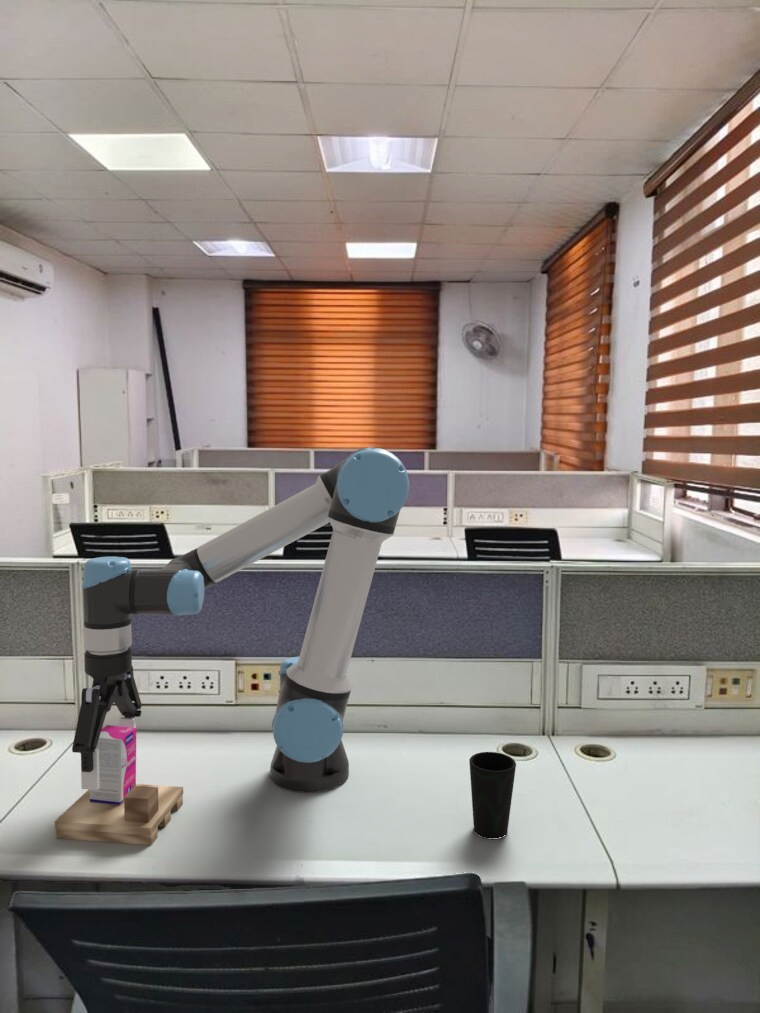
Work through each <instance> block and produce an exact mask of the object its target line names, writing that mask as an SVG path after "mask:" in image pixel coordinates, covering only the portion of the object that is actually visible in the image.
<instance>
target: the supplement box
mask: <svg viewBox="0 0 760 1013" xmlns="http://www.w3.org/2000/svg"><path fill="white" fill-rule="evenodd" d="M96 749H99V777H100V788H99V789H98V790H90V802H92V803H104V804H114V805H120V804H121V803H122V802H123V801H124V797H125V796H126V795H127V794H128V793H129V792H130V791H131V790H132V788H133V787H134V786H136V784H137V727H136V728H132V727H120V726H119V725H118V726H117V725H109V724H106V725H105V726H103V727H102V730H101V733H100V736H99V740H98V743H97V746H96Z"/></svg>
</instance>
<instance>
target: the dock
mask: <svg viewBox="0 0 760 1013" xmlns="http://www.w3.org/2000/svg"><path fill="white" fill-rule="evenodd" d="M136 786H146V787H158V812H157V813H156V814H155V815H154V817H153V818H152V819H151V820H150V822H149V823H144V822H130V821H125V817H124V801H123V802H122V803H121V804H120V805H114V804H104V803H92V802H90V789H86V791H85V792H84V793H83V794H82V795H80V797H78V799H76V801H74V802H73V803H72V804H71V805H70V807H68V808H67V809H66V810H65V811H64V812H63V813H62V814H61V815H60V816H59V817H57V818H56V820H55V821H54V829H55V836H56V839H63V840H64V839H67V840H77V841H91V842H105V843H117V844H118V843H119V844H131V845H132V844H133V845H144V846H152V845H153V844H154V843H155V841H156V840H157V839H158V836H159V834H158V828H166V827H167V825H169V823H170V822H171V820H172V814H171V813H172V812H171V811H174V812H177V811H179V809H180V808H181V807H182V806H183V804H184V803H183V801H184V800H183V799H184V796H183V795H184V786H173V785H172V786H171V785H158V784H157V785H156V784H145V783H142V784H141V783H136Z"/></svg>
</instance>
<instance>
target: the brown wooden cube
mask: <svg viewBox="0 0 760 1013" xmlns="http://www.w3.org/2000/svg"><path fill="white" fill-rule="evenodd" d="M157 812H158V787H146V786H134V787H133V788H132V790H131V791H130V792H129V793H128V794H127V795H126V796H125V797H124V817H125V821H130V822H144V823H149V822H150V820H151V819H152V818H153V817H154V815H155V814H156V813H157Z"/></svg>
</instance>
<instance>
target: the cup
mask: <svg viewBox="0 0 760 1013" xmlns="http://www.w3.org/2000/svg"><path fill="white" fill-rule="evenodd" d="M516 768H517V762H516V761H515V760H514V758H512V757H511V756H509V755H508V754H504V753H501V752H495V751H482V752H478V753H475V754H473V755H472V756H470V758H469V775H470V790H471V805H472V819H473V821H472V822H473V823H472V824H473V831H474V833H475V832H476V833H477V834H478V835H477V834H476V833H475V834H476V835H477V836H479V835H480V836H482V837H481V838H483V837H486V838H499V837H503V836H504V835H506V834H507V835H508V830H509V824H510V823H509V822H510V814H511V809H512V808H511V807H512V798H513V791H514V784H515V783H514V782H515V776H516ZM507 835H506V836H507ZM480 836H479V837H480ZM486 838H485V839H486ZM503 838H504V837H503Z"/></svg>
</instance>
